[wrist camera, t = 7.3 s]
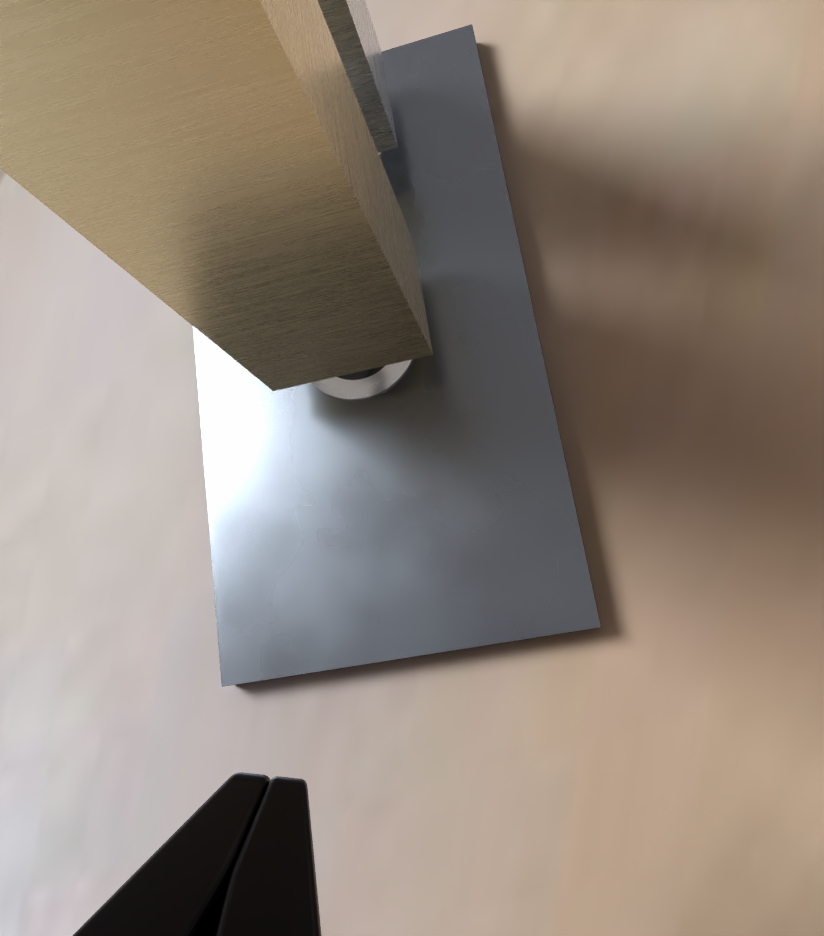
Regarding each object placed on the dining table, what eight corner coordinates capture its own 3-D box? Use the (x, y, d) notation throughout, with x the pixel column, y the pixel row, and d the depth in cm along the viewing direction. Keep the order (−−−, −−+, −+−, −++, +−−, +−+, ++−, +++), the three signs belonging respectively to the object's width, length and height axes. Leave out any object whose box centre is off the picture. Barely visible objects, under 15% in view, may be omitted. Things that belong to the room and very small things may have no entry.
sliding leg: (438, 365, 17) (-348, -1241, 2) (284, 400, 18) (-1070, -704, 3) (419, 256, 18) (-270, -1473, 3) (271, 293, 19) (-863, -1003, 4)
